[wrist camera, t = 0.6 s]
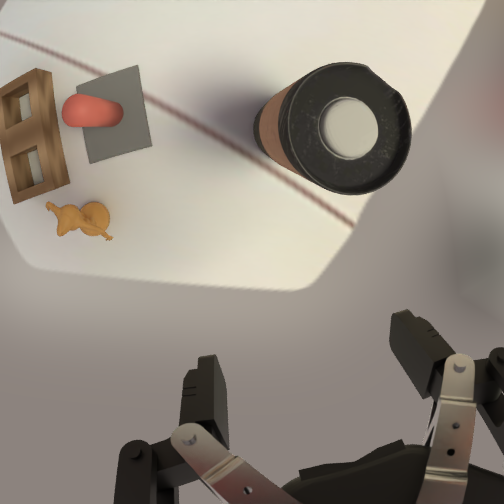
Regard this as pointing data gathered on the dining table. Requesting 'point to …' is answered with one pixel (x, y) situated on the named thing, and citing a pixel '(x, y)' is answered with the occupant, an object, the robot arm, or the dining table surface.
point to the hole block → (31, 136)
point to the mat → (132, 124)
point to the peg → (91, 112)
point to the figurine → (82, 219)
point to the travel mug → (337, 129)
